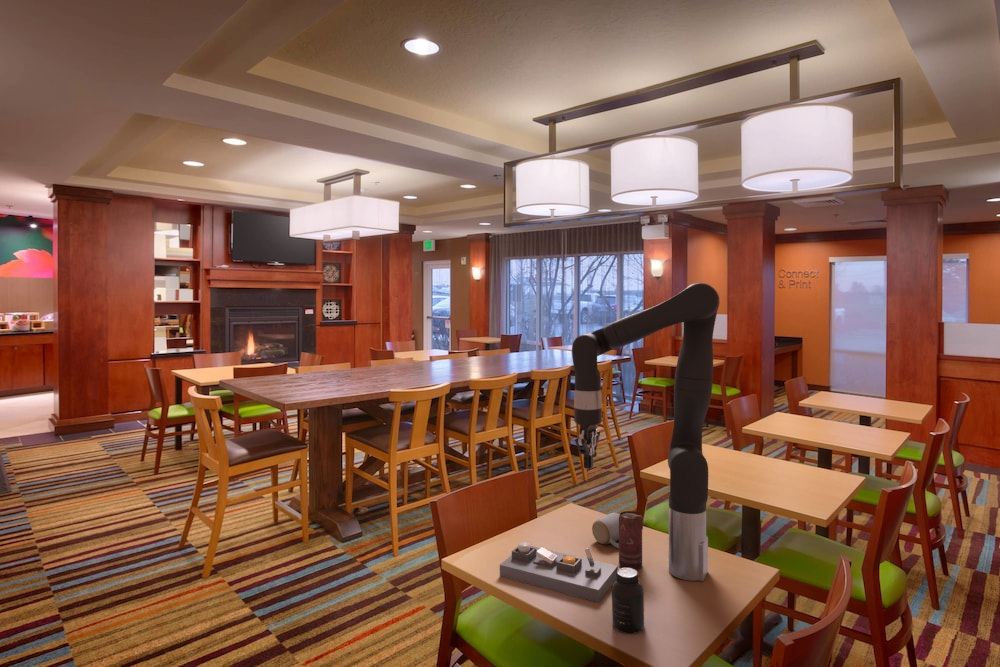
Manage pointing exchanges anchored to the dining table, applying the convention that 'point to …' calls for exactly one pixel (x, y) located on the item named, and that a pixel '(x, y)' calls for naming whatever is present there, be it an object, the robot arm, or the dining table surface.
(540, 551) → the rocker switch
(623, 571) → the supplement bottle
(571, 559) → the orange button
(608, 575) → the control panel
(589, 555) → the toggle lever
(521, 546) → the grey button
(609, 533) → the ceramic mug
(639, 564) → the can
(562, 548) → the dining table surface
